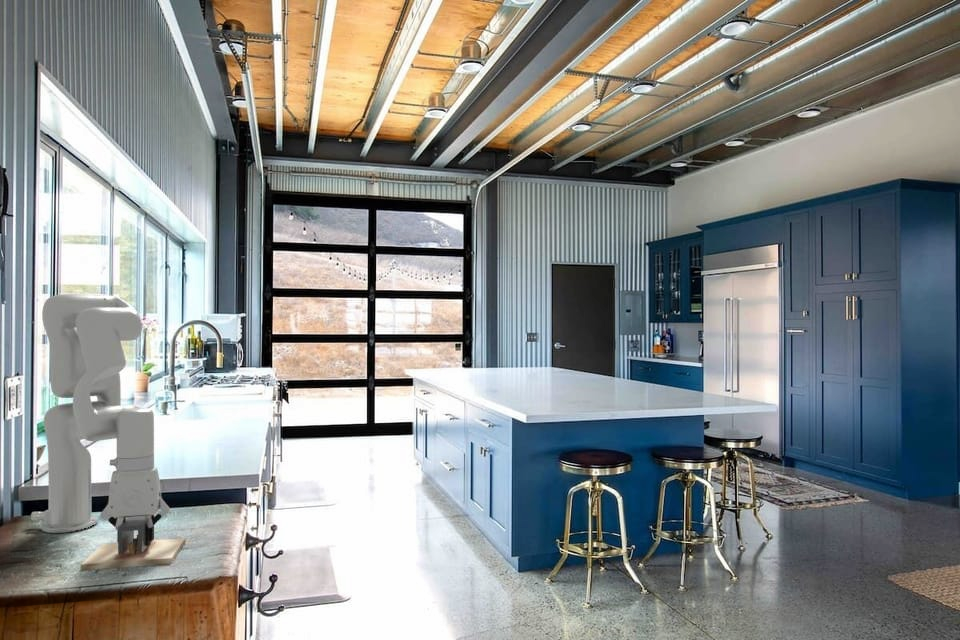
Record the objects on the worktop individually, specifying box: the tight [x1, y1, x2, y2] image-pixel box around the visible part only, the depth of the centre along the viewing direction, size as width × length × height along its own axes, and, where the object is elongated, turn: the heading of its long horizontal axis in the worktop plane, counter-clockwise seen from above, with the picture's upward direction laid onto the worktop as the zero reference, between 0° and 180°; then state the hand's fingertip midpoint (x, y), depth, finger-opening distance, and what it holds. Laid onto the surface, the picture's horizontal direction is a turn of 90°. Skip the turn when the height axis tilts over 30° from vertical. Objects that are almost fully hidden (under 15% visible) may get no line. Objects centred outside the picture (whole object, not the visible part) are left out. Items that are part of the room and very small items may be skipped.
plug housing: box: [117, 516, 147, 554], centre depth 154 cm, size 5×9×6 cm, turn 12°
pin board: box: [80, 534, 186, 571], centre depth 154 cm, size 18×14×4 cm
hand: (135, 544), depth 154 cm, fingers closed on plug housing, 4 cm apart
